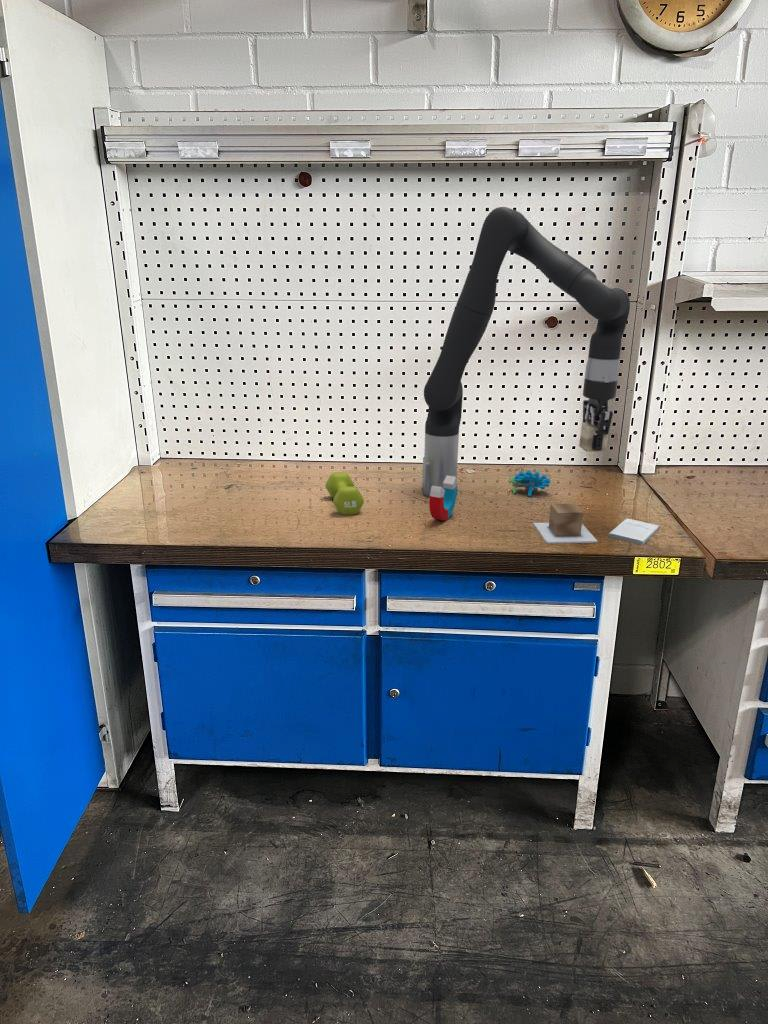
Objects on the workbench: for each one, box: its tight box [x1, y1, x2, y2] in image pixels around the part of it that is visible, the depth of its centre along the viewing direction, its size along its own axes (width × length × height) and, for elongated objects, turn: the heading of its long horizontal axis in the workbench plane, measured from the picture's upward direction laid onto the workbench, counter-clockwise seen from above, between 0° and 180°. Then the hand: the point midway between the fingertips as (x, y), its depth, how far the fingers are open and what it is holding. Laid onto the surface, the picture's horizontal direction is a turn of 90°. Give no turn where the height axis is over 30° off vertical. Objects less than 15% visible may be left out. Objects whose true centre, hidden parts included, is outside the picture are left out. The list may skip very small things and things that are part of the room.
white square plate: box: [532, 522, 599, 545], centre depth 167 cm, size 12×12×1 cm
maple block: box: [578, 421, 609, 453], centre depth 168 cm, size 5×5×6 cm
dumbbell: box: [325, 471, 365, 516], centre depth 183 cm, size 16×8×7 cm, turn 13°
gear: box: [509, 469, 551, 498], centre depth 193 cm, size 11×6×10 cm
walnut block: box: [548, 503, 584, 537], centre depth 166 cm, size 6×6×6 cm
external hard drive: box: [607, 518, 660, 546], centre depth 168 cm, size 2×8×12 cm
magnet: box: [428, 475, 458, 522], centre depth 174 cm, size 12×3×10 cm, turn 152°
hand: (592, 446), depth 169 cm, fingers closed on maple block, 5 cm apart
